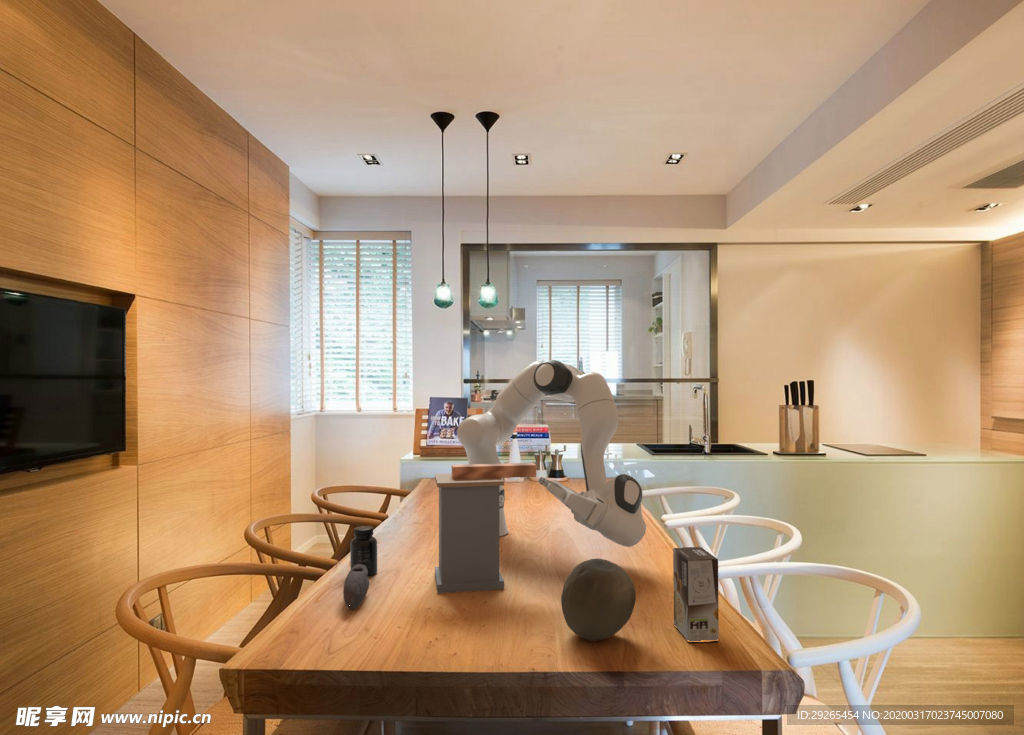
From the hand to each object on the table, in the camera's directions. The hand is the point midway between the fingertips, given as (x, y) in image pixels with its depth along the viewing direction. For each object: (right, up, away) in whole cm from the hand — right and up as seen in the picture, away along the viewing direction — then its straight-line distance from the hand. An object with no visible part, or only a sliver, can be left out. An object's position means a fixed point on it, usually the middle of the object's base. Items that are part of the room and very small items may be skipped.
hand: (543, 482), depth 160 cm
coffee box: (+29, -24, -35) cm, 51 cm away
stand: (-19, -24, -4) cm, 31 cm away
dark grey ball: (+9, -24, -37) cm, 45 cm away
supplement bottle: (-47, -24, +3) cm, 53 cm away
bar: (-13, +2, -2) cm, 13 cm away
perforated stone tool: (-44, -24, -18) cm, 53 cm away
